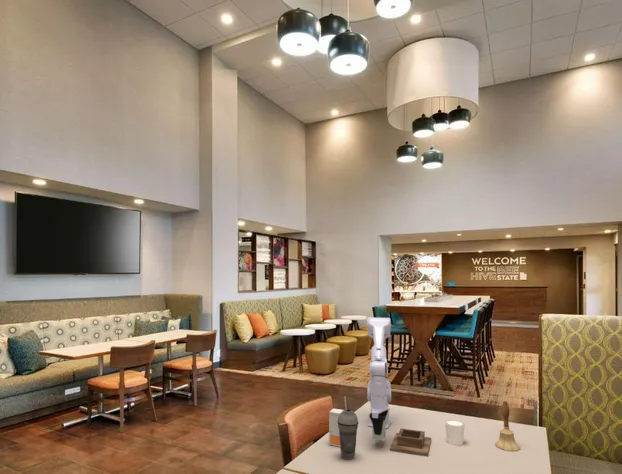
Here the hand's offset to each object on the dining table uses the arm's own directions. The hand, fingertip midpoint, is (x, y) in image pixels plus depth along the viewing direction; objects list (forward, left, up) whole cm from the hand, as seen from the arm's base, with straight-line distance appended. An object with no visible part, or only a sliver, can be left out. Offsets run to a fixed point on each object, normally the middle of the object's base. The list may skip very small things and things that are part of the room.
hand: (379, 432), depth 154 cm
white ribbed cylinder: (-13, +26, -5) cm, 29 cm away
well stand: (-4, +11, -5) cm, 13 cm away
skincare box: (+5, -14, -5) cm, 16 cm away
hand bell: (-16, +44, -5) cm, 47 cm away
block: (0, 0, -2) cm, 2 cm away
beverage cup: (+14, -8, -5) cm, 17 cm away
